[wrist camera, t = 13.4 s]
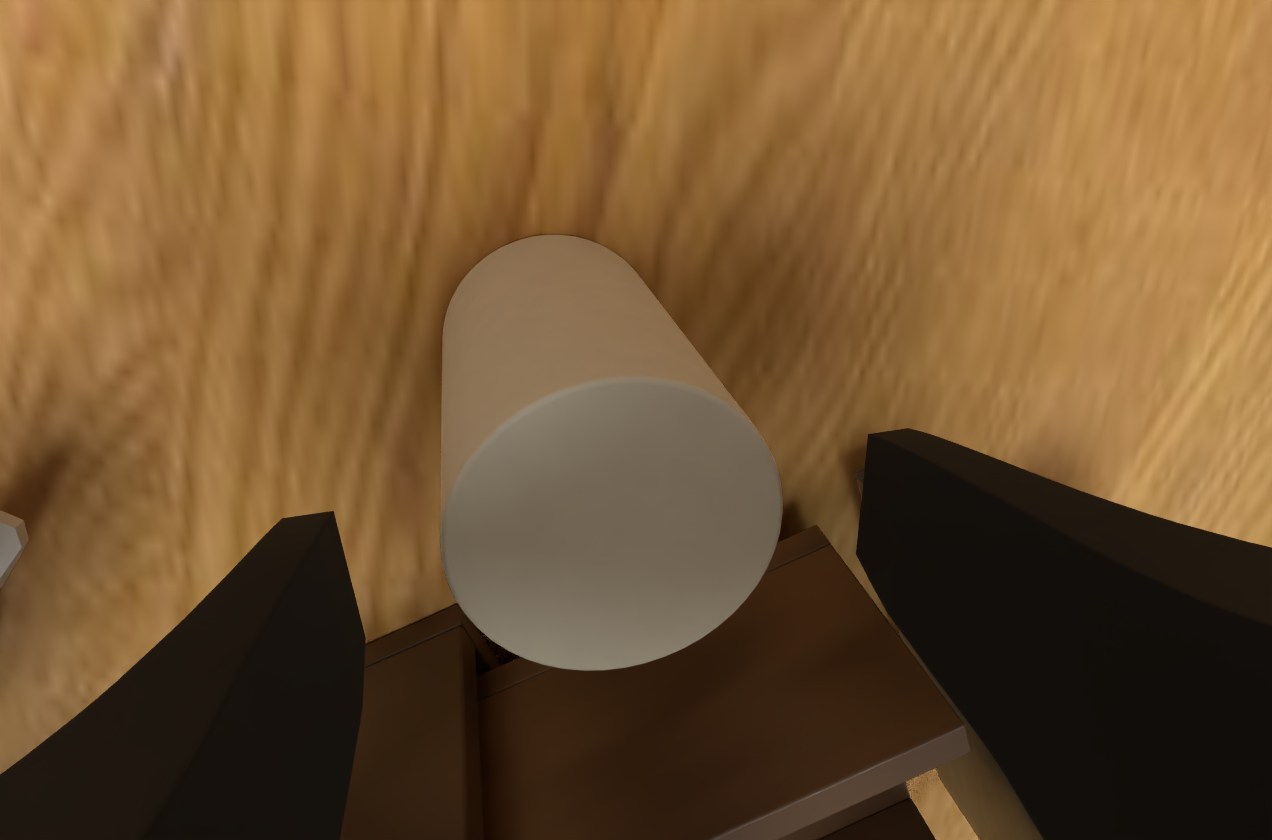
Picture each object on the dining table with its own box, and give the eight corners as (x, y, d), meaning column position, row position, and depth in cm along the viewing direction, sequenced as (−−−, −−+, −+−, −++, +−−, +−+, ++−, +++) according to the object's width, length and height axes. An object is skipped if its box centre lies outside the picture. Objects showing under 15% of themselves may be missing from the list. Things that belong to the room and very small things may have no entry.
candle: (658, 424, 19) (775, 644, 12) (457, 448, 18) (463, 698, 11) (656, 225, 16) (795, 358, 10) (427, 242, 16) (414, 400, 9)
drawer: (1060, 381, 19) (1336, 540, 13) (1096, 706, 25) (1297, 916, 19) (383, 683, 19) (354, 984, 13) (581, 939, 25) (624, 1227, 19)
